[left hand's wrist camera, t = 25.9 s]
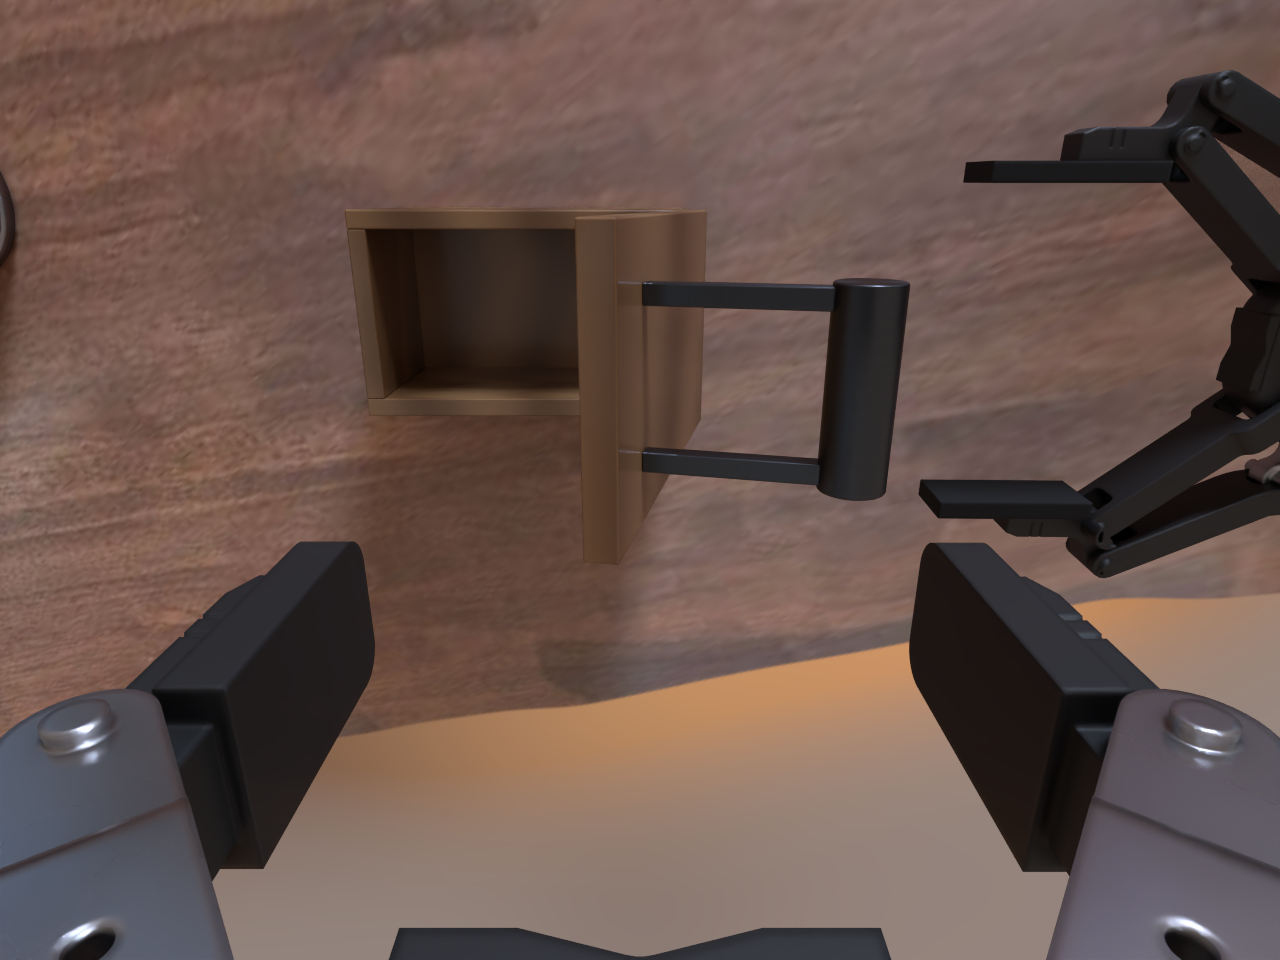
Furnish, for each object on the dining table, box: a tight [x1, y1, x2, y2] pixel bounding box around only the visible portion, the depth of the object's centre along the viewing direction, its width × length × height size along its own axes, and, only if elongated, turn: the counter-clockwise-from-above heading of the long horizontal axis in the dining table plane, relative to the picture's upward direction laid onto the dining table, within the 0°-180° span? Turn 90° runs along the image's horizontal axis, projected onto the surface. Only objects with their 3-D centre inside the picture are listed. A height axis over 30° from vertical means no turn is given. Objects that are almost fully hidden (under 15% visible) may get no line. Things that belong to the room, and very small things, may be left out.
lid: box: [575, 210, 910, 565], centre depth 28 cm, size 17×10×9 cm
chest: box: [345, 208, 689, 416], centre depth 42 cm, size 16×10×9 cm, turn 90°
